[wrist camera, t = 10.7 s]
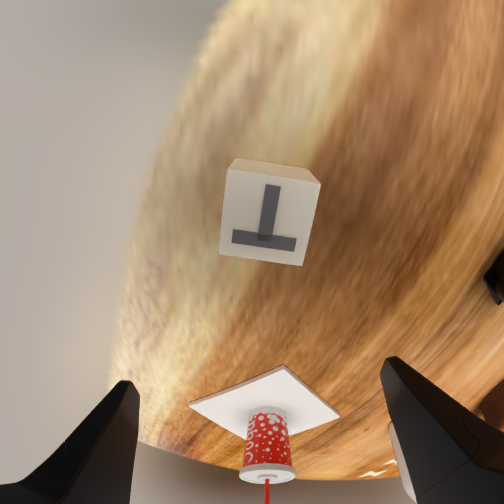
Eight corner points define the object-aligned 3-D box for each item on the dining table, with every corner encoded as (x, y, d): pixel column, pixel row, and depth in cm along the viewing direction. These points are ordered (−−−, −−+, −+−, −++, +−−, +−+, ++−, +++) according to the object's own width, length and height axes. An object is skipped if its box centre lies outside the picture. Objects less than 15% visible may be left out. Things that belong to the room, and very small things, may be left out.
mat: (283, 364, 27) (283, 368, 27) (339, 413, 32) (340, 417, 31) (189, 402, 31) (188, 406, 31) (256, 441, 36) (256, 445, 35)
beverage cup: (268, 397, 29) (267, 509, 17) (302, 414, 31) (309, 513, 18) (233, 414, 31) (223, 514, 19) (267, 429, 33) (265, 520, 20)
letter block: (307, 168, 19) (321, 184, 14) (294, 233, 21) (302, 267, 17) (236, 157, 19) (227, 169, 14) (227, 224, 21) (217, 255, 16)
